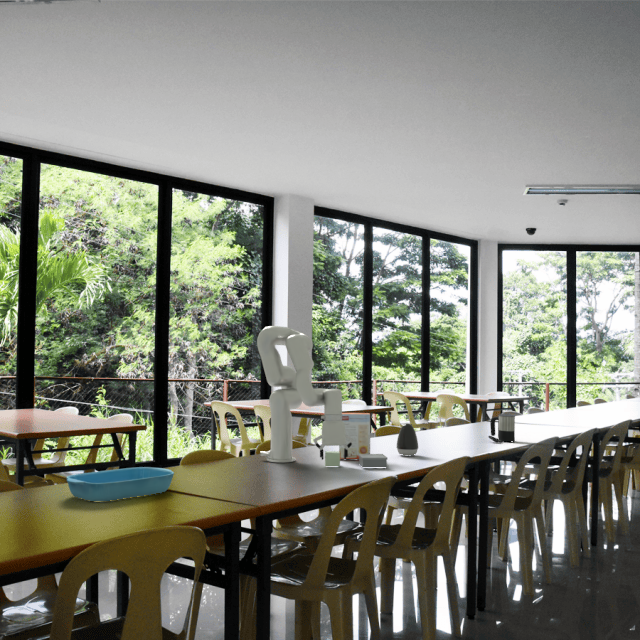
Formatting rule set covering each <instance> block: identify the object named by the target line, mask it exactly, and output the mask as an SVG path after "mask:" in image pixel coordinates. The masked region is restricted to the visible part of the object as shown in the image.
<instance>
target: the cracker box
mask: <svg viewBox="0 0 640 640" xmlns="http://www.w3.org/2000/svg"><path fill="white" fill-rule="evenodd" d="M342 421H344V424H345V433H346V435H348V436H350V437H351V438H353V439H354V441H353V443H352V445H351V446H350V447H349V448H348V457H346V459H359V456H358V454H371V413H368V412H366V413H365V412H342ZM349 442H350V440H349V439H347V438H346V443H345V444H346V445H348V444H349ZM344 449H345V447H344V446H343V445H339V446H338V451H339V452H340V459H344Z"/></svg>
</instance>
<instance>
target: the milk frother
mask: <svg viewBox="0 0 640 640" xmlns="http://www.w3.org/2000/svg"><path fill="white" fill-rule="evenodd" d="M515 418H516V415H515V414H507V413H506V414H505V413H504V414H503V413H501V414H498V416H493V417H492V418H490V435H488V436H487V437H488V438H489V439H490V440H491V441H493V442H494V443H495V442H497V443H500V442H501V443H503V442H502V441H515V442H516V440H515V437H516V434H515V433H516V432H515V429H516V426H515V425H516V424H515V422H516V420H515ZM496 421H497V422H498V423H497V437H495V436H496Z"/></svg>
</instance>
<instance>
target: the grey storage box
mask: <svg viewBox="0 0 640 640" xmlns="http://www.w3.org/2000/svg"><path fill="white" fill-rule="evenodd" d="M358 456H359V460H358V464H360V465H361V466H362V467H387V465H388V464H387V463H388V462H387V460H388V457H387V456H386V455H385V454H383V453H370V454H358ZM388 461H389V460H388Z"/></svg>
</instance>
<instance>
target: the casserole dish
mask: <svg viewBox="0 0 640 640" xmlns="http://www.w3.org/2000/svg"><path fill="white" fill-rule="evenodd" d="M174 475H175V472H174V471H172V470H171V469H170V468H169V469H168V468H164V467H163V468H162V467H151V466H144V467H143V466H139V467H126V468H118V469H108V470H100V471H92V472H84V473H76V474H71V475H67V476H66V482H67V485H68V488H69V492H70V493H71V494H72V496H73V497H74V498H76V497H78V498H77V499H79V498H82V499H85V500H84V501H86V500H90V501H110V500H117V499H123V498H130V497H137V496H144V495H149V496H152V495H151V494H155V495H157V494H156V493H160V494H163V493H162V492H164V493H165V492H167V490H168V489H169V488H170V487H171V483H172V481H173V478H174ZM144 497H145V496H144ZM137 498H138V497H137ZM82 499H81V500H82ZM90 501H89V502H90Z"/></svg>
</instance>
